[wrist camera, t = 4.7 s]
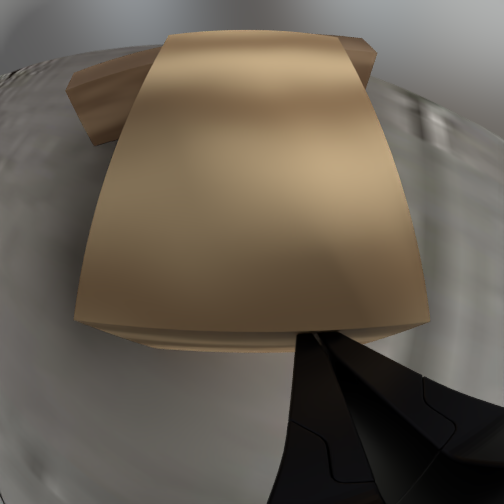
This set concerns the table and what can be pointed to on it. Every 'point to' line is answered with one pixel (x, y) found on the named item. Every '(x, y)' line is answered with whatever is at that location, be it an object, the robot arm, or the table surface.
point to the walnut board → (132, 77)
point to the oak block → (251, 204)
